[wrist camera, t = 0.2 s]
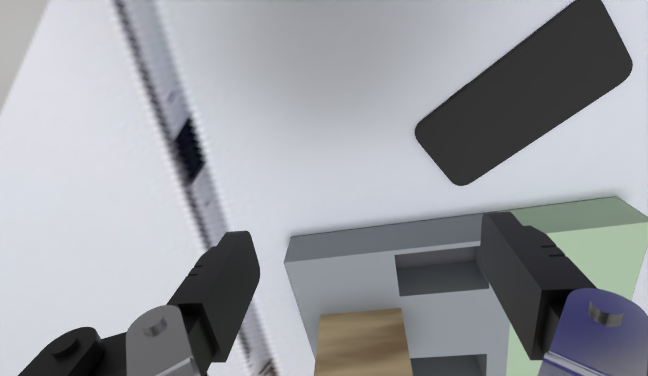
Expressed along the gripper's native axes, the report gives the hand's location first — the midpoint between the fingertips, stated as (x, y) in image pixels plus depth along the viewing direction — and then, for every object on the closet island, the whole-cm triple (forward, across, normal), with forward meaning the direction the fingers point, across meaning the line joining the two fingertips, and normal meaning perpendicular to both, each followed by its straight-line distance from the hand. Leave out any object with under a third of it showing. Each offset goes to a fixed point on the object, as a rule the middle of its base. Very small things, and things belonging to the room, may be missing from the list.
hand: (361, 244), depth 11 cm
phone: (+19, -12, 0) cm, 22 cm away
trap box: (+19, -7, +20) cm, 29 cm away
